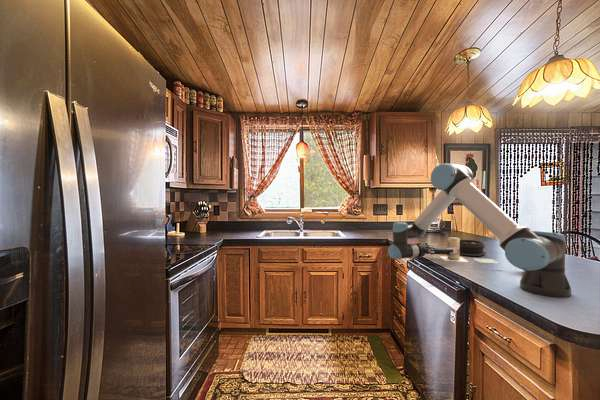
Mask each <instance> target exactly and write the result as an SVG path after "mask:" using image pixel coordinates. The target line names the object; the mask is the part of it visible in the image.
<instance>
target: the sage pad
mask: <svg viewBox="0 0 600 400" xmlns="http://www.w3.org/2000/svg"><path fill="white" fill-rule="evenodd" d="M472 259H473V260H474V261H476V262H477V263H484V264H489V263H490V264H499V265H501V263H500V261H497V260H494V259H493V258H476V257H475V258H472Z"/></svg>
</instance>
